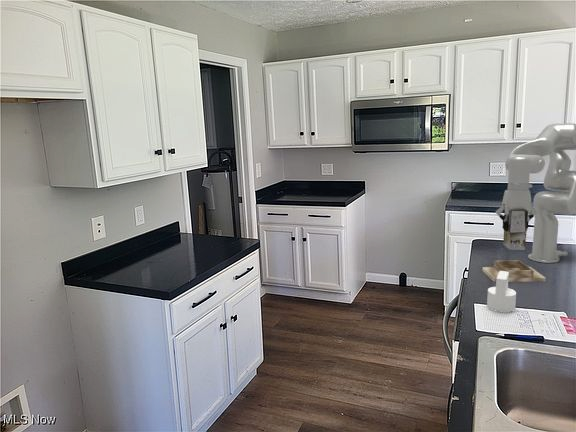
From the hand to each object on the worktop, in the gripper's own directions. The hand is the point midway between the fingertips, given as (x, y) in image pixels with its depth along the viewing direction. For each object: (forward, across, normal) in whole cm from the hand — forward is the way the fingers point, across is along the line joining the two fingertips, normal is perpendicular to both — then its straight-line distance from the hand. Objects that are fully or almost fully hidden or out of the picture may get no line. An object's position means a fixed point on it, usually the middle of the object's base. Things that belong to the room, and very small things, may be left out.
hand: (515, 230), depth 181 cm
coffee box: (+7, 0, 0) cm, 7 cm away
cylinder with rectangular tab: (+21, +16, +32) cm, 41 cm away
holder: (+20, 0, 0) cm, 20 cm away
